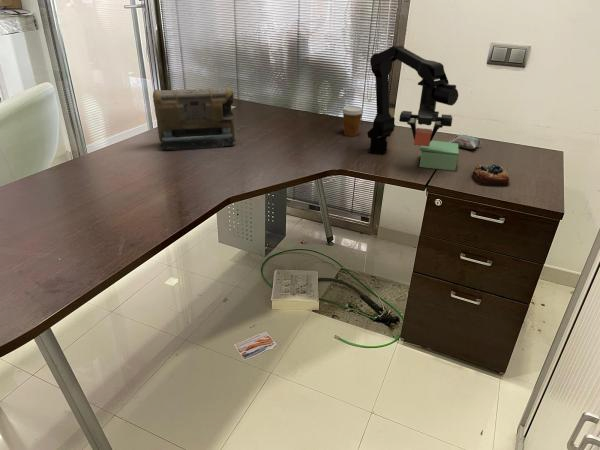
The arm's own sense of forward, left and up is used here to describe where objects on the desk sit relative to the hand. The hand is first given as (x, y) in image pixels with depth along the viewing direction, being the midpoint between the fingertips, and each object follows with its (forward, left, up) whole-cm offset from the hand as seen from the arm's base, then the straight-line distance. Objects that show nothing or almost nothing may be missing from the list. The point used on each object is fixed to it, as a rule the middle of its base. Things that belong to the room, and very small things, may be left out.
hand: (422, 140), depth 172 cm
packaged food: (+18, +30, -11) cm, 36 cm away
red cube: (0, 0, -1) cm, 1 cm away
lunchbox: (+7, +7, -11) cm, 15 cm away
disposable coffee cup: (-33, +33, -11) cm, 48 cm away
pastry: (+26, -4, -11) cm, 29 cm away
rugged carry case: (-94, -2, -11) cm, 95 cm away
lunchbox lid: (+7, +7, -4) cm, 10 cm away
